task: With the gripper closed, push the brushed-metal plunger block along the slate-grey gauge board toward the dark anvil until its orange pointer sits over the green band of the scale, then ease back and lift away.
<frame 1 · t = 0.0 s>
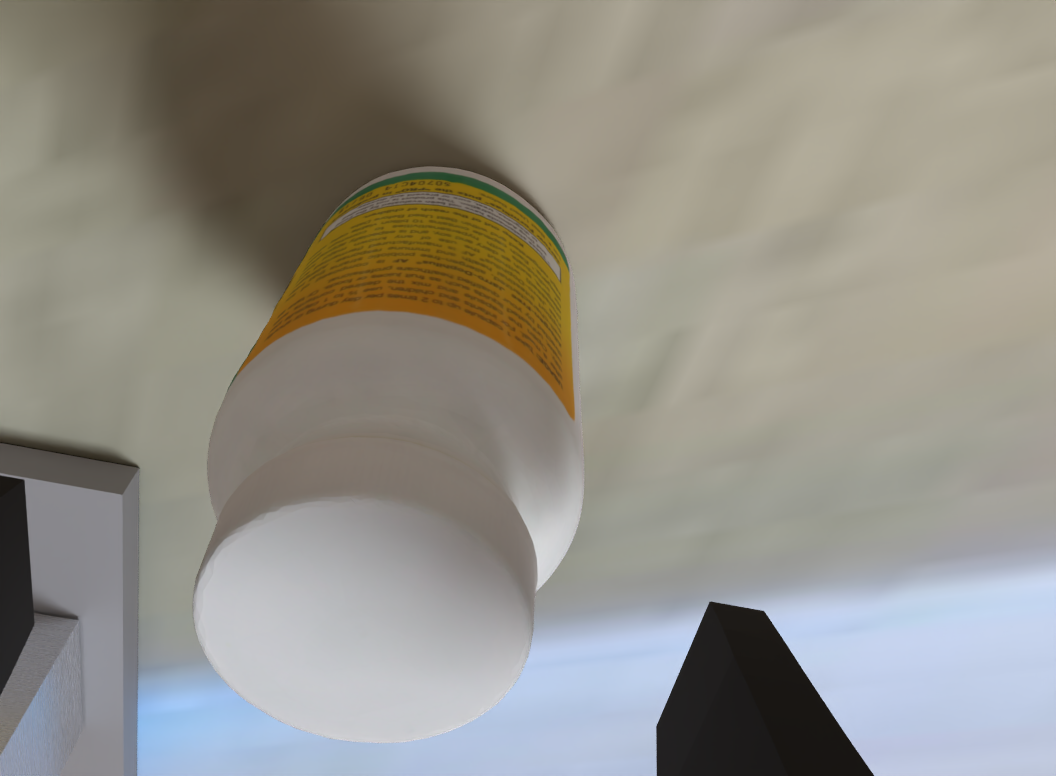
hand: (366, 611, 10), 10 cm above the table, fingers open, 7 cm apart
supplement bottle: (443, 282, 20), on the table
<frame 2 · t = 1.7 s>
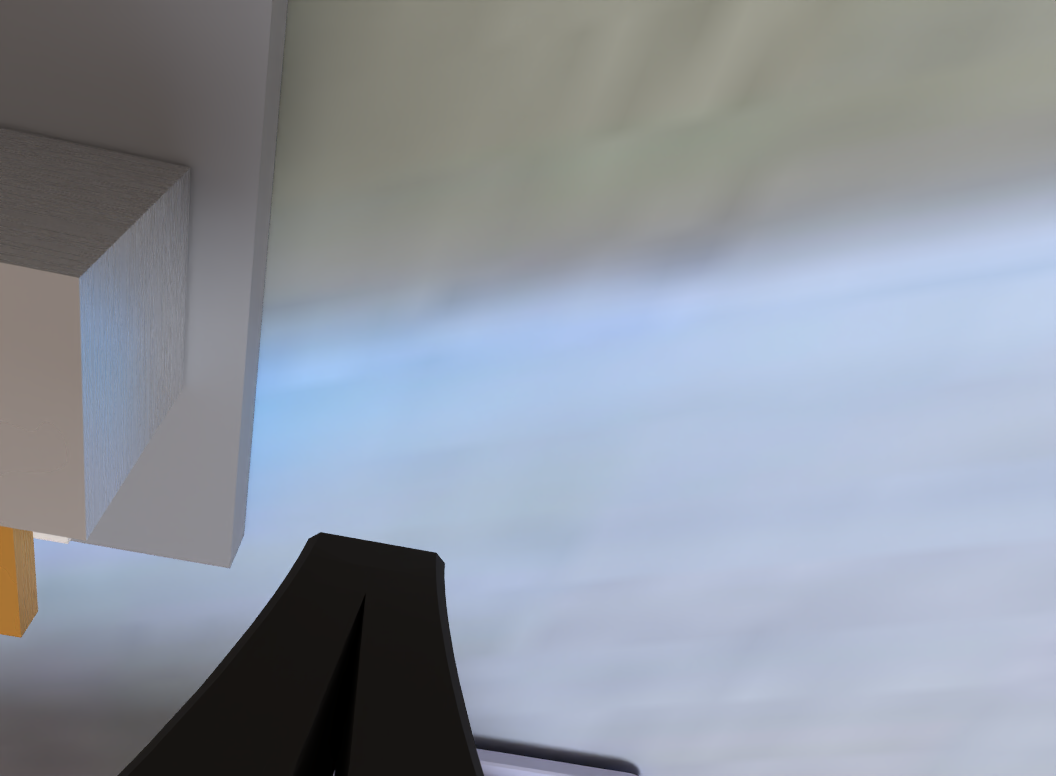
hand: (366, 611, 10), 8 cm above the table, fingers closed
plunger: (5, 418, 14), point 3 cm above the table, slide at 0.0 cm
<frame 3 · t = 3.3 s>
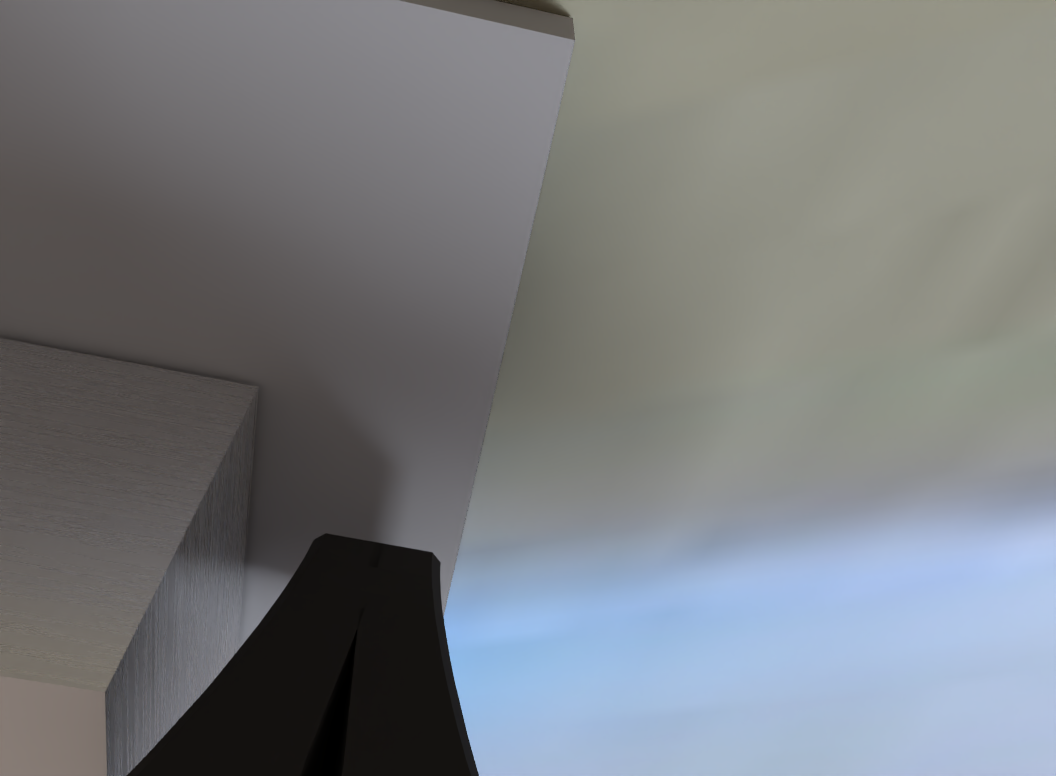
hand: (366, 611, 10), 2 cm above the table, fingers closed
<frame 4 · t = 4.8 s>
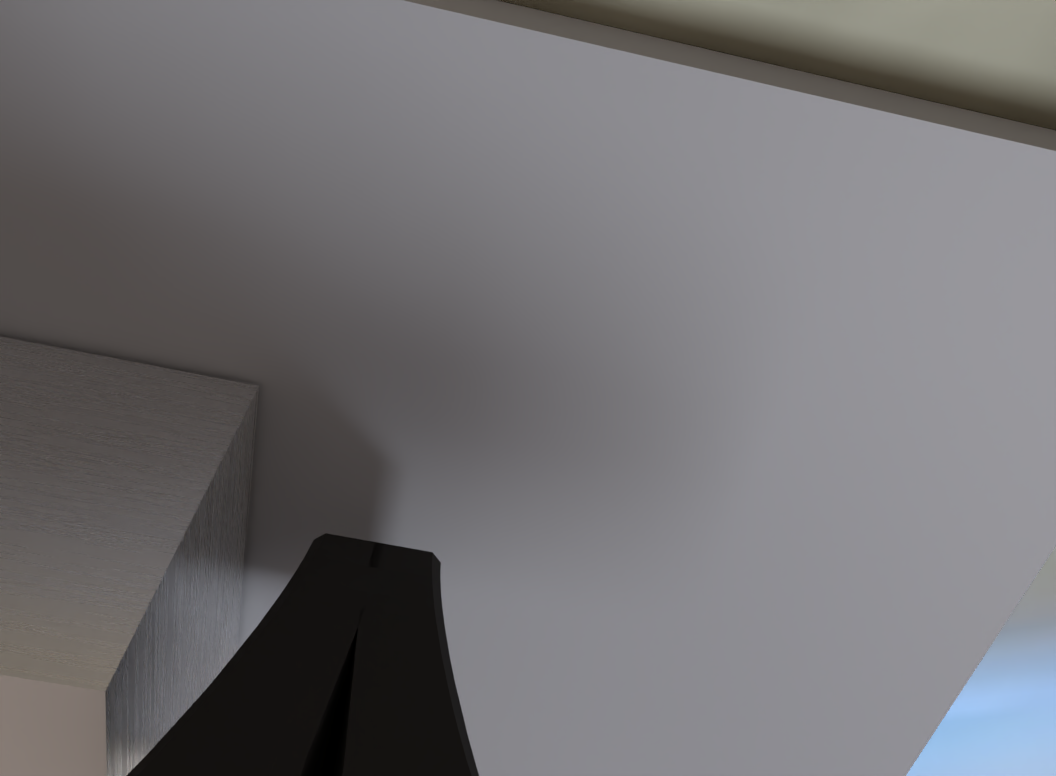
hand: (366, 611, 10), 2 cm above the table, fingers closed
gauge board: (271, 475, 12), on the table
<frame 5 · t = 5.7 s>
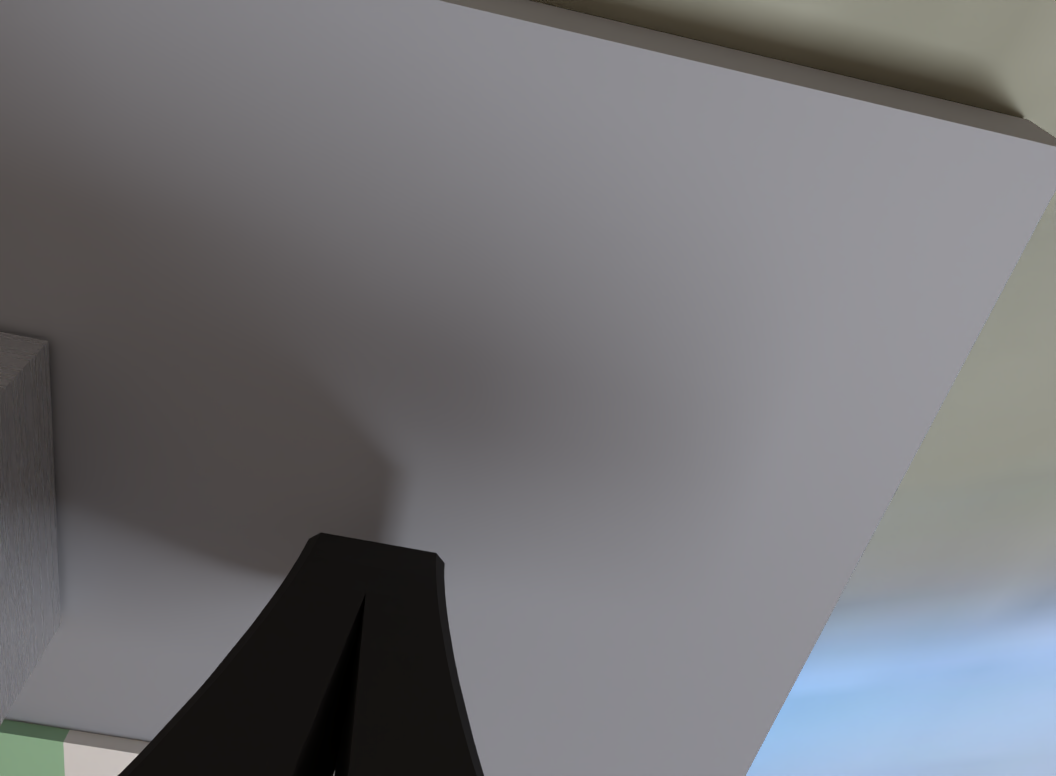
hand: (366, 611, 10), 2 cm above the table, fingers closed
gauge board: (96, 439, 12), on the table
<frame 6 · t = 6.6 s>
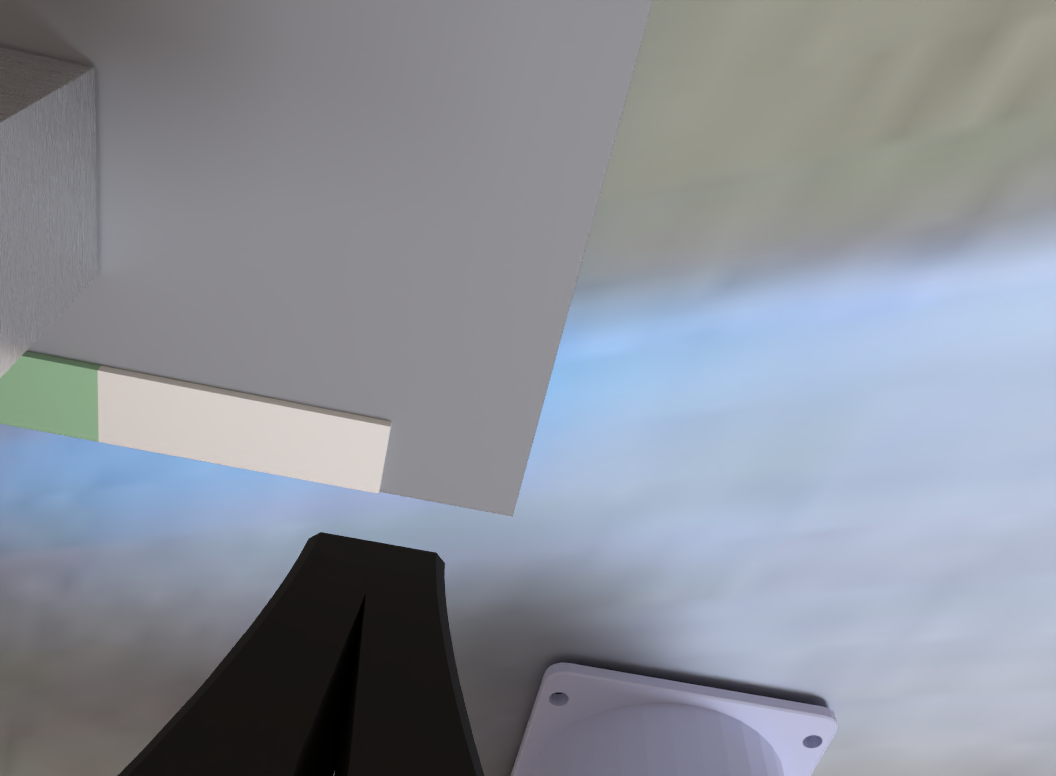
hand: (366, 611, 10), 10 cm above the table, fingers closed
gauge board: (119, 158, 18), on the table
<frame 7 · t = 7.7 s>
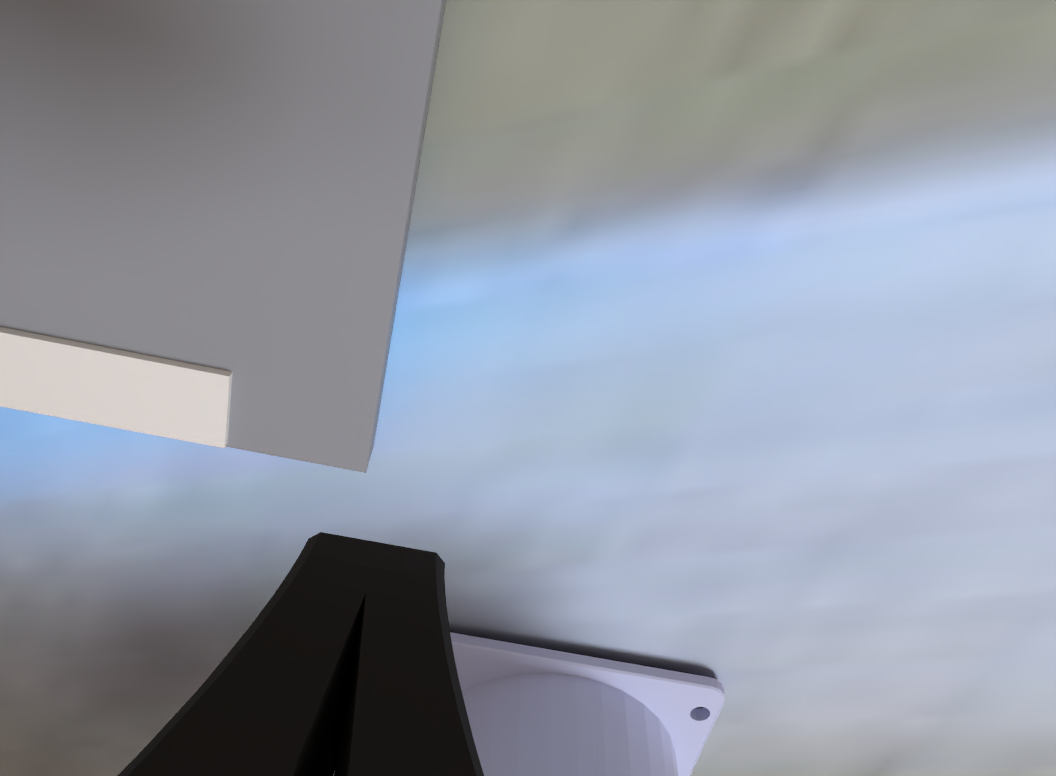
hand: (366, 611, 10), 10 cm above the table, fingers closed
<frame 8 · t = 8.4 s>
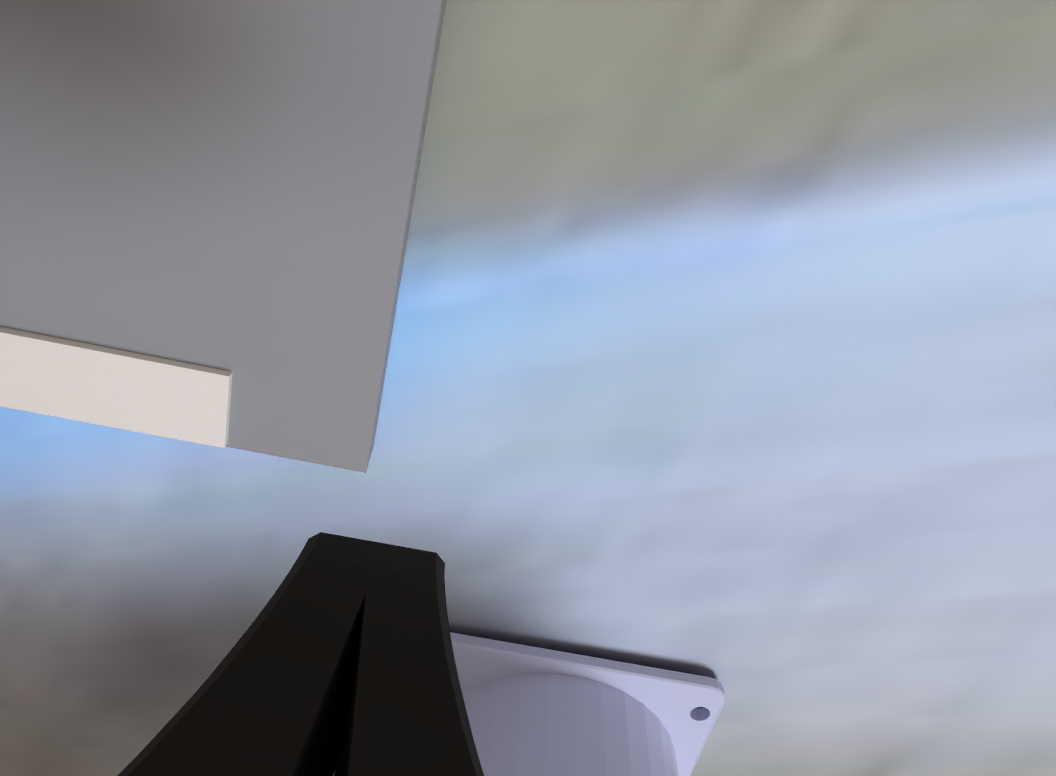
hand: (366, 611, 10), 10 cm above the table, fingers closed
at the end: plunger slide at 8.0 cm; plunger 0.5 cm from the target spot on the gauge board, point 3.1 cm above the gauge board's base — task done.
